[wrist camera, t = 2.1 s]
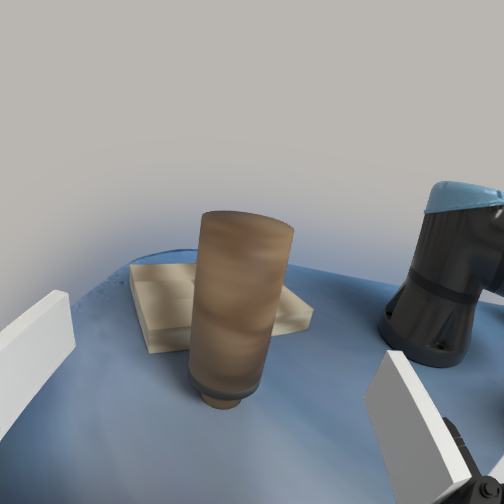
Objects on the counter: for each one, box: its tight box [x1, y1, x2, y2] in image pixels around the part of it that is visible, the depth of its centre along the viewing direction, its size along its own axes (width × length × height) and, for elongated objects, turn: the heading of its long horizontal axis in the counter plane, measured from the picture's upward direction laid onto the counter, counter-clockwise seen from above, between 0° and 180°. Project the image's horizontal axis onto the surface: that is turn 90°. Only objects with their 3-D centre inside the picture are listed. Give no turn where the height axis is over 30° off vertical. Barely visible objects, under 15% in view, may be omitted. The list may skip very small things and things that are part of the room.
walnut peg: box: [188, 211, 294, 409], centre depth 22 cm, size 6×6×16 cm
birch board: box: [130, 263, 314, 354], centre depth 38 cm, size 20×16×3 cm
